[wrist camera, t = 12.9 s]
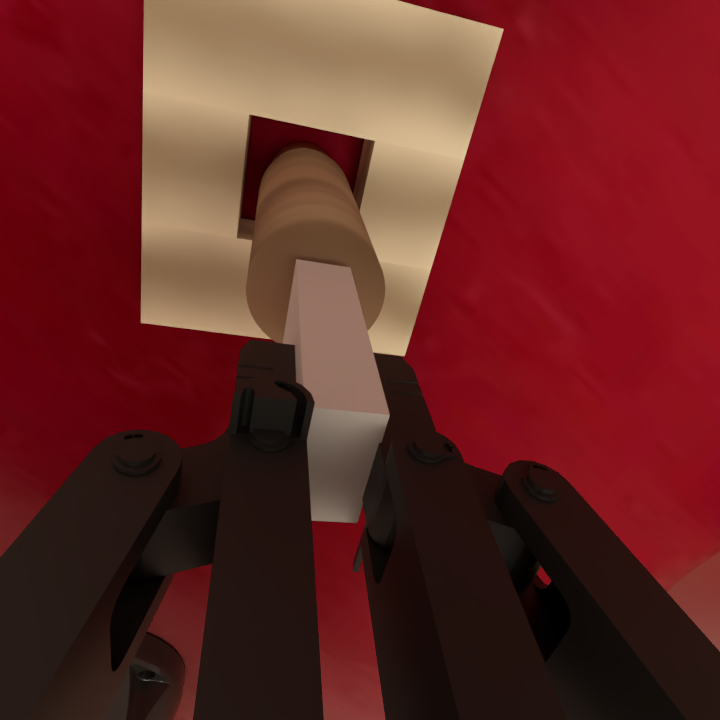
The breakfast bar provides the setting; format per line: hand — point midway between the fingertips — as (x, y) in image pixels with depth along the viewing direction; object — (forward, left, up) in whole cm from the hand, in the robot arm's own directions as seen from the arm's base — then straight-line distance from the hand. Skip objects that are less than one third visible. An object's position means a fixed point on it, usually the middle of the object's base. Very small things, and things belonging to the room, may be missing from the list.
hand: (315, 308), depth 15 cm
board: (0, 0, -15) cm, 15 cm away
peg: (0, 0, -15) cm, 15 cm away
